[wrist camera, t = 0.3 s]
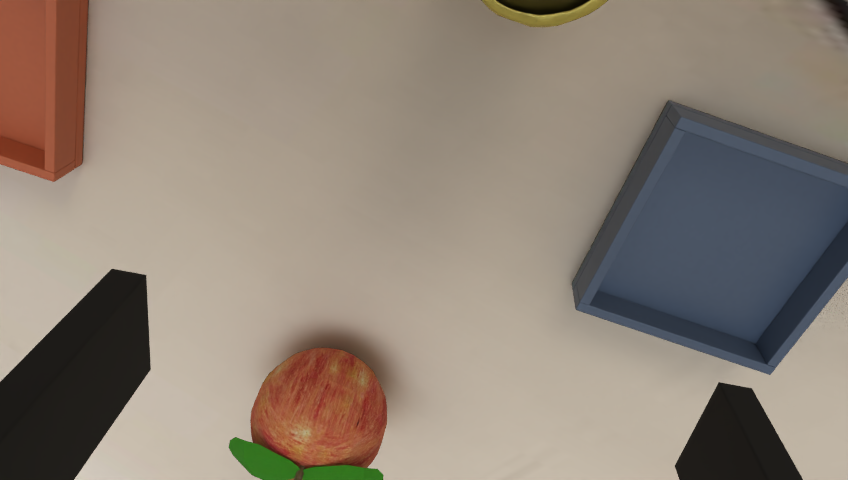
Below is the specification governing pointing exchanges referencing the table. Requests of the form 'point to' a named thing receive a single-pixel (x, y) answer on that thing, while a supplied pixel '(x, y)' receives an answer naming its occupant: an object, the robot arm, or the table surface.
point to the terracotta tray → (42, 85)
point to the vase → (543, 10)
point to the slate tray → (720, 241)
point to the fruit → (316, 420)
